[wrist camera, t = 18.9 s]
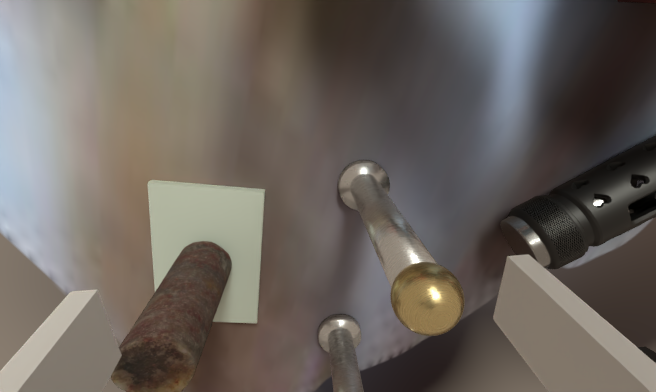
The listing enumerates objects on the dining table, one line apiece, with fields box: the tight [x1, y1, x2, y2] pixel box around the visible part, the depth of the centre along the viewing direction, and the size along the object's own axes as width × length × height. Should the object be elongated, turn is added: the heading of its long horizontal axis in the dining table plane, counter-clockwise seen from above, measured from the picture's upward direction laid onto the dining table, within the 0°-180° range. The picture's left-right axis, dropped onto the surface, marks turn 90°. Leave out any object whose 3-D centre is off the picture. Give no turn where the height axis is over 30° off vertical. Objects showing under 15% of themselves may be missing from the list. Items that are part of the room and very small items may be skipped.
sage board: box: [148, 180, 265, 323], centre depth 49 cm, size 15×22×1 cm
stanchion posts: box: [318, 160, 464, 392], centre depth 39 cm, size 7×33×28 cm, turn 173°
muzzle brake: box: [500, 136, 656, 269], centre depth 46 cm, size 10×28×10 cm, turn 120°
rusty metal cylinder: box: [111, 241, 232, 392], centre depth 39 cm, size 8×7×20 cm
